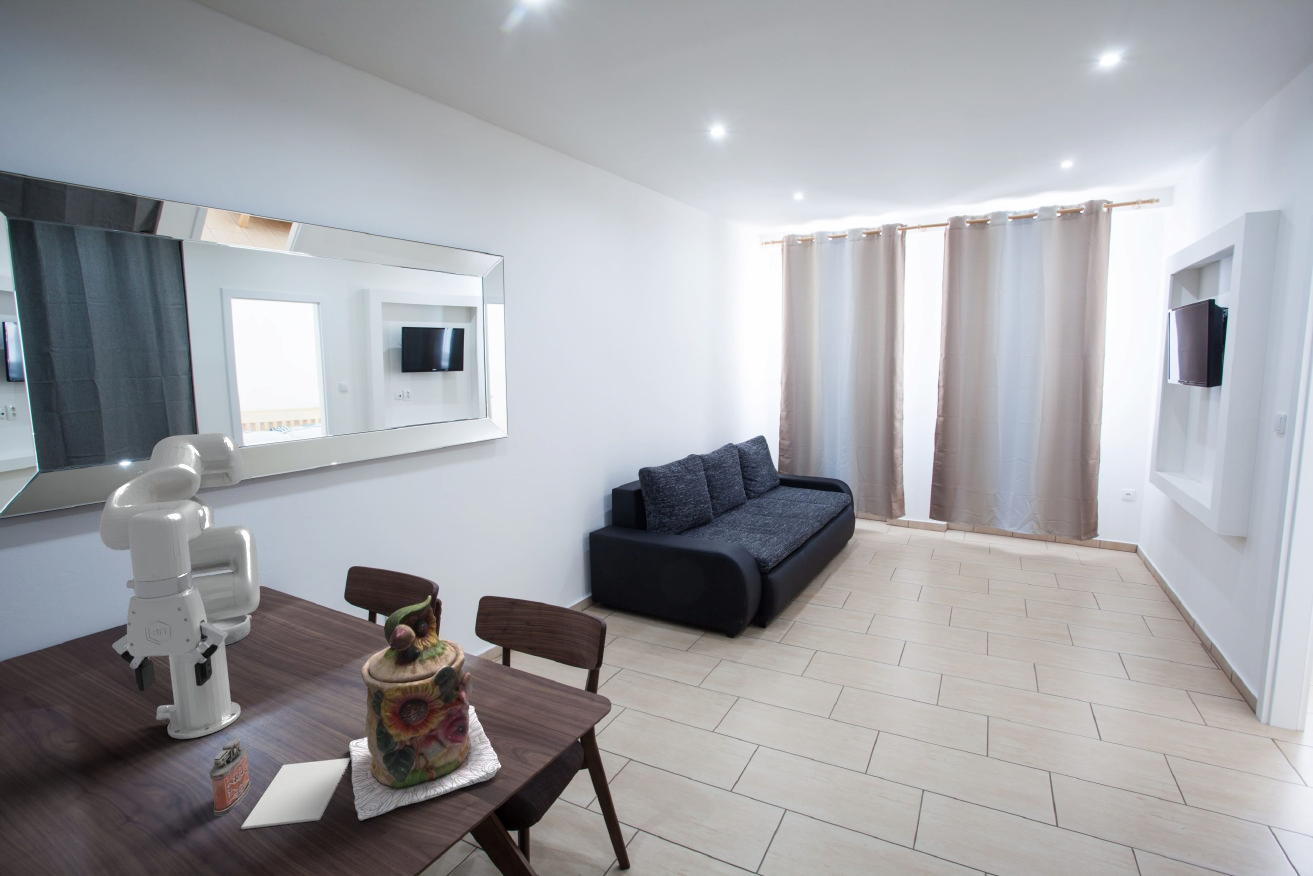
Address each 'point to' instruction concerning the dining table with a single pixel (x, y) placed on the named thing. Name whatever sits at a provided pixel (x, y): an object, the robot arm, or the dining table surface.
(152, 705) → the dining table surface
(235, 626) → the dish
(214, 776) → the lighter
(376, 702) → the cookie jar
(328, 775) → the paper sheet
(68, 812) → the dining table surface
